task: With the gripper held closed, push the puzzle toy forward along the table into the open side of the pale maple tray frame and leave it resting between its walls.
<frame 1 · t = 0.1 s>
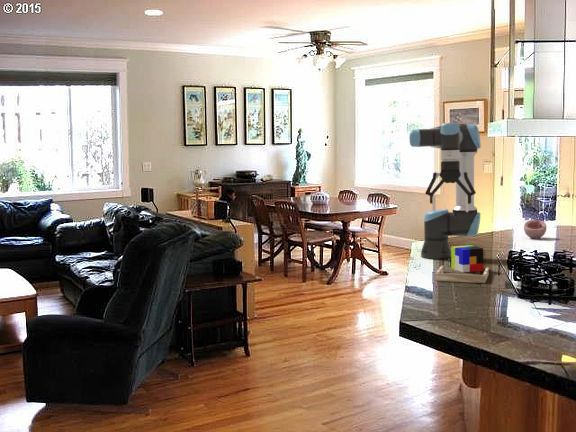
hand: (450, 211, 275), 28 cm above the counter, tool pointing down, fingers open, 13 cm apart
puzzle toy: (467, 270, 294), on the counter
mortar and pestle: (534, 238, 376), on the counter
tray: (462, 276, 278), on the counter
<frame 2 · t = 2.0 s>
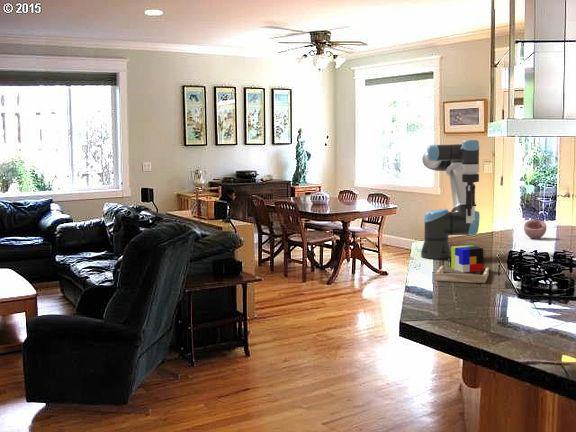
hand: (470, 221, 306), 20 cm above the counter, tool pointing down, fingers open, 10 cm apart
nothing on the counter moved.
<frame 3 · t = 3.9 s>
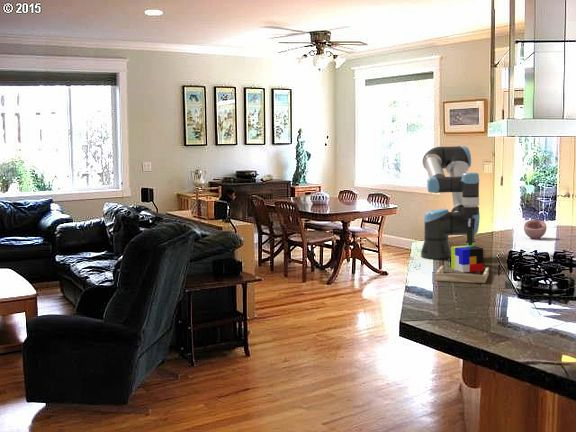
hand: (470, 256, 307), 3 cm above the counter, tool pointing down, fingers closed
nothing on the counter moved.
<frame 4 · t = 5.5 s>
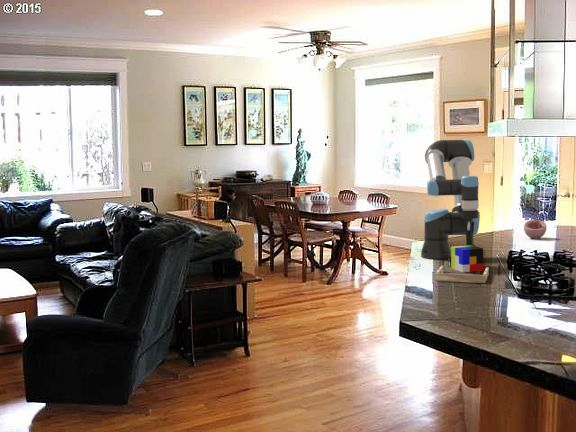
hand: (469, 260, 304), 2 cm above the counter, tool pointing down, fingers closed
nothing on the counter moved.
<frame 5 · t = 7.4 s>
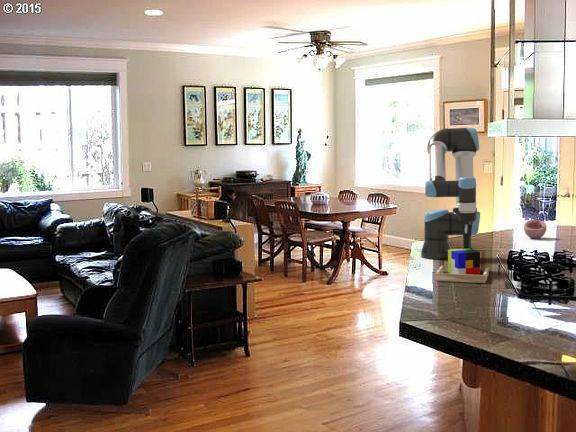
hand: (467, 264, 295), 2 cm above the counter, tool pointing down, fingers closed
puzzle toy: (463, 273, 285), on the counter, touching hand
everything else where it was.
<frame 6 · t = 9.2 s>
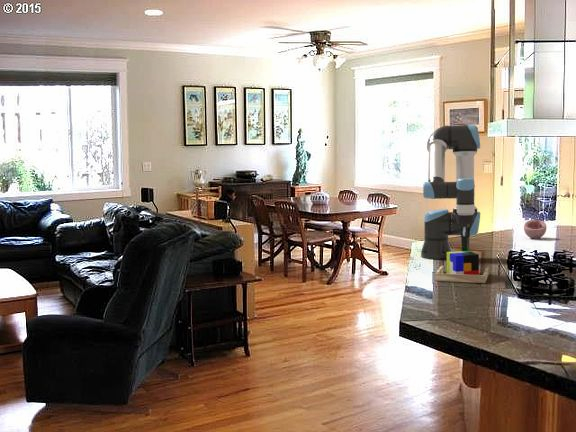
hand: (465, 267, 288), 2 cm above the counter, tool pointing down, fingers closed
puzzle toy: (462, 277, 279), on the counter, touching hand
everything else where it was.
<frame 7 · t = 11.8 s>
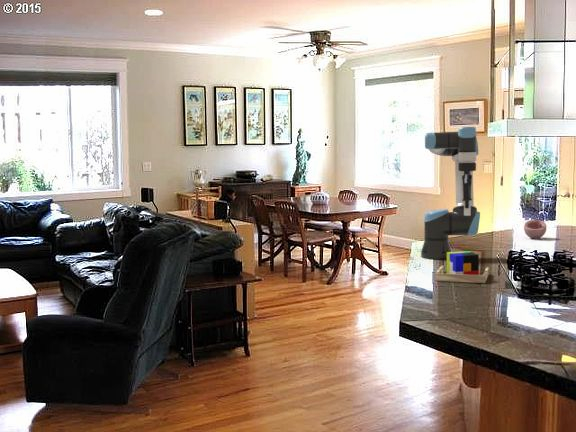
hand: (467, 215, 292), 24 cm above the counter, tool pointing down, fingers closed
puzzle toy: (462, 277, 279), on the counter
everything else where it was.
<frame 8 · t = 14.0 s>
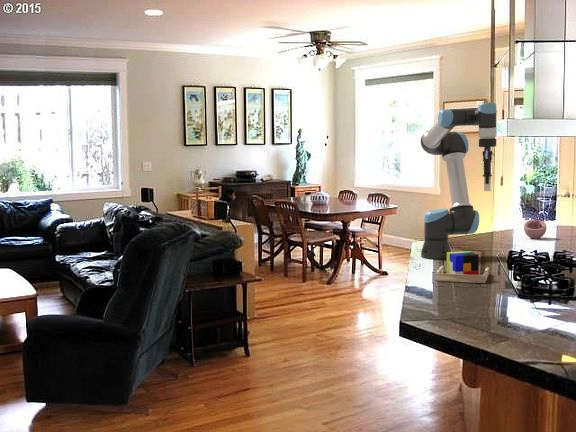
hand: (487, 191, 295), 34 cm above the counter, tool pointing down, fingers closed
nothing on the counter moved.
at the end: puzzle toy inside the target area on the tray (1.3 cm from its centre), point 0.0 cm above the tray's base; puzzle toy tilted 0°; puzzle toy moved 16.2 cm from its start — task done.
